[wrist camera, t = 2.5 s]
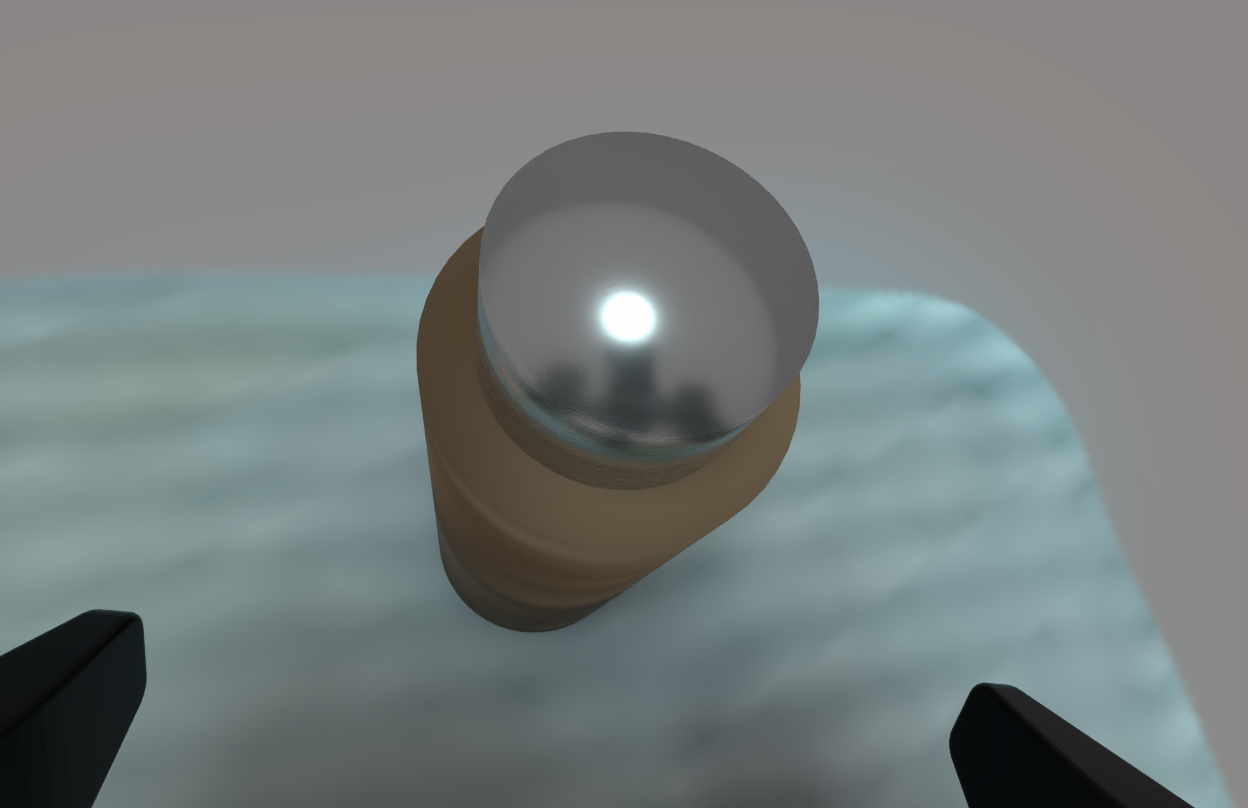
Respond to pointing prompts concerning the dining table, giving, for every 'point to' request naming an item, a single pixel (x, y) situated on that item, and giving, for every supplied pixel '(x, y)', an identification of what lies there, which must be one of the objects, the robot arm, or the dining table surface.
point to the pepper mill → (608, 371)
